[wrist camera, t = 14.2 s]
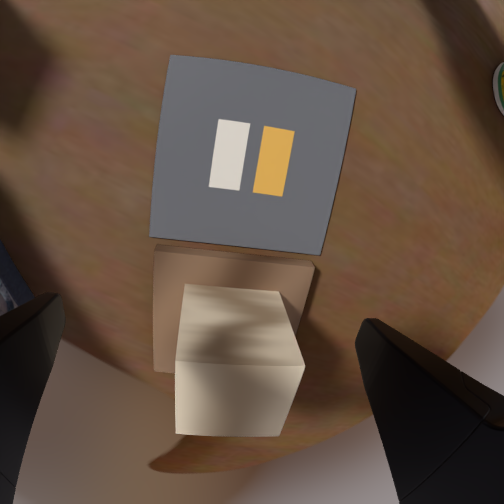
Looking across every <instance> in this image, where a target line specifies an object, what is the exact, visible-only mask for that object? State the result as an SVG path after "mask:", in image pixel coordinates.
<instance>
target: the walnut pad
mask: <svg viewBox="0 0 504 504" xmlns="http://www.w3.org/2000/svg"><path fill="white" fill-rule="evenodd" d="M314 269H315V267H314V265H313V263H312V262H311V261H309V260H299V259H290V258H280V257H271V256H261V255H252V254H242V253H233V252H224V251H214V250H205V249H195V248H186V247H177V246H167V245H158V244H157V246H156V248H155V251H154V276H153V356H154V371H158V372H167V373H175V359H176V350H177V341H178V333H179V325H180V317H181V309H182V302H183V294H184V287H185V284H194V285H204V286H216V287H227V288H239V289H252V290H265V291H279V293H280V296H281V299H282V301H283V304H284V307H285V310H286V313H287V315H288V318H289V321H290V324H291V327H292V329H293V332H294V335H295V336H296V333H297V330H298V326H299V323H300V319H301V316H302V313H303V309H304V306H305V302H306V299H307V295H308V291H309V288H310V284H311V281H312V277H313V273H314Z"/></svg>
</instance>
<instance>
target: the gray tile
mask: <svg viewBox="0 0 504 504" xmlns="http://www.w3.org/2000/svg"><path fill="white" fill-rule="evenodd" d="M355 93H356V89H355V88H351V87H348V86H345V85H341V84H338V83H334V82H330V81H327V80H323V79H319V78H315V77H311V76H307V75H303V74H298V73H294V72H289V71H285V70H280V69H275V68H270V67H265V66H259V65H253V64H247V63H241V62H234V61H227V60H219V59H211V58H202V57H191V56H179V55H170V60H169V65H168V71H167V77H166V83H165V89H164V95H163V102H162V109H161V116H160V123H159V131H158V139H157V147H156V156H155V166H154V177H153V188H152V201H151V216H150V233H149V237H157V238H166V239H176V240H185V241H194V242H204V243H213V244H222V245H231V246H241V247H250V248H259V249H268V250H277V251H286V252H295V253H304V254H313V255H320V253H321V249H322V246H323V242H324V238H325V234H326V230H327V226H328V222H329V218H330V213H331V209H332V205H333V201H334V196H335V192H336V188H337V183H338V179H339V174H340V170H341V165H342V160H343V156H344V151H345V146H346V141H347V136H348V131H349V126H350V121H351V115H352V110H353V105H354V99H355Z"/></svg>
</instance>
